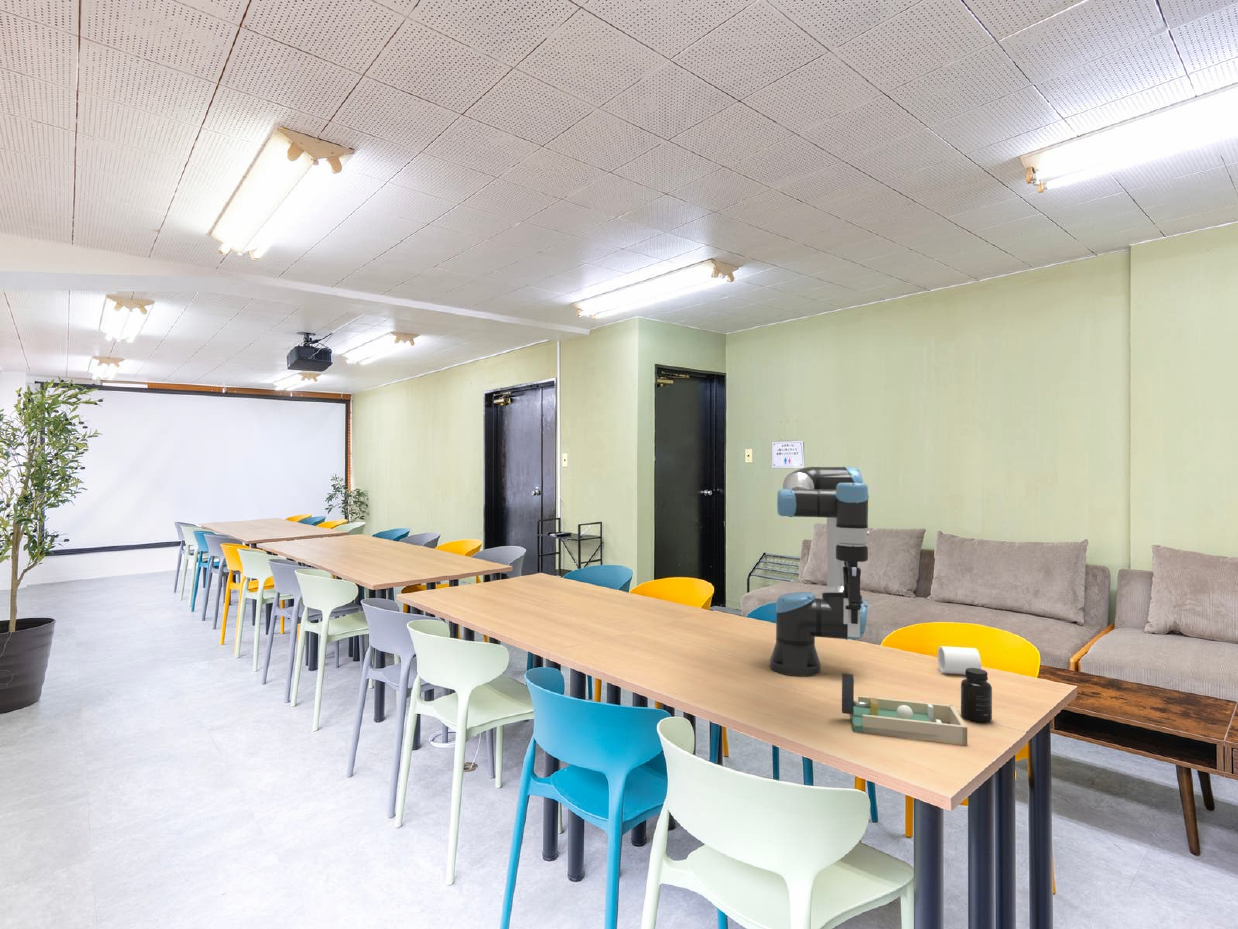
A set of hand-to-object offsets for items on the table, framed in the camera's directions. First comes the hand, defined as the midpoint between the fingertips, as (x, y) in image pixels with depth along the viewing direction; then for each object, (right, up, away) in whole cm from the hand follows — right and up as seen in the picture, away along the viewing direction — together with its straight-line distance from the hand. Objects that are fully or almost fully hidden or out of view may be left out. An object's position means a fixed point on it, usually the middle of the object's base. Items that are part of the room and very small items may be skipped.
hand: (851, 630), depth 156 cm
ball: (+11, -19, -4) cm, 22 cm away
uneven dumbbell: (+1, -20, -2) cm, 20 cm away
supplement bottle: (+32, -23, +1) cm, 39 cm away
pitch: (+11, -22, -5) cm, 25 cm away
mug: (+47, -23, +38) cm, 65 cm away
